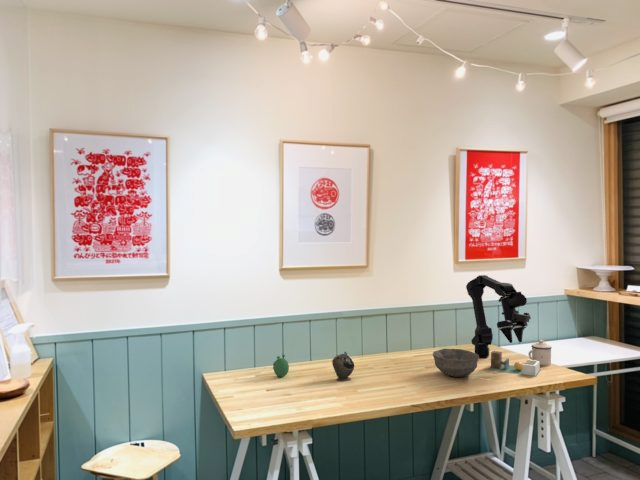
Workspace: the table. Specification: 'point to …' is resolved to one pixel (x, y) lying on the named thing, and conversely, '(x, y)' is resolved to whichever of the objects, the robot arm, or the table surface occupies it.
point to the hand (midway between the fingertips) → (516, 342)
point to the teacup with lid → (541, 352)
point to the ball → (518, 366)
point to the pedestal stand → (498, 360)
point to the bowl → (455, 361)
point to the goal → (531, 367)
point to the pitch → (511, 370)
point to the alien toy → (281, 366)
